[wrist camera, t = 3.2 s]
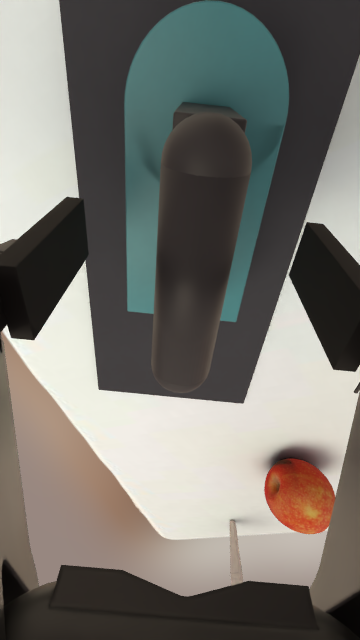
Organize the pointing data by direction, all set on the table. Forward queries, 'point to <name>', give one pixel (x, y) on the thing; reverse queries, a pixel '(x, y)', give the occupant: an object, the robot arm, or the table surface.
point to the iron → (198, 175)
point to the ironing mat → (283, 197)
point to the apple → (299, 496)
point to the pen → (235, 556)
